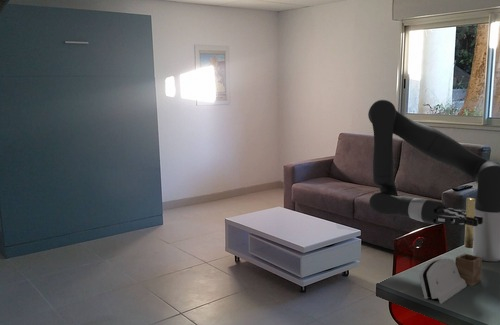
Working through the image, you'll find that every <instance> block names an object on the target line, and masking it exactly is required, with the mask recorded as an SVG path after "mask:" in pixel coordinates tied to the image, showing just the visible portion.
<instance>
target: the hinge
mask: <svg viewBox="0 0 500 325" xmlns="http://www.w3.org/2000/svg"><path fill="white" fill-rule="evenodd" d="M419 280H420V285H421V289H422V294H423V298H424V299H426V300H428V299H430V298H431V300H432V299H433V300H434V299H438V302H439V304H443V303H445V302H446V301H447V300H449V299H450V298H452V297H453V296H455V295H456V294H458V293H459V292H460V291H462V290H463V289H465V288H466V287H467V284H466V282H465V280H464V279H462V278H461V277H460V275H459V272H458V269H457V267H456V264H455V260H454V259H450V258H442V259H441V258H440V259H436V260H433V261H430V262H429V263H427V264H426V265H424V266H423V268H422V270H421V271H420V273H419Z"/></svg>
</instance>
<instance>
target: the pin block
mask: <svg viewBox="0 0 500 325" xmlns="http://www.w3.org/2000/svg"><path fill="white" fill-rule="evenodd" d="M482 261H483V260H482V258H481V257H477V256H473V254H468V253H462V254H460V255H458V256H456V257H455V260H454V262H455V264H456V267H457V269H458V272H459V275H460V277H461V278H462V279H464V280H465V282H466V285H468V286H470V287H473V286H475V285H476V284H478V283H480V282H481V281H482V266H483V265H482V263H483V262H482Z"/></svg>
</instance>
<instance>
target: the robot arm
mask: <svg viewBox="0 0 500 325" xmlns="http://www.w3.org/2000/svg"><path fill="white" fill-rule="evenodd" d="M368 119H369V122H370V123H371V125H372V130H373V158H372V178H373V179H372V180H373V184H374V185H375V186H378V187H379V190H380V192H376V193H374V194H372V195H371V197H369V200H368V201H369V202H368V204H369V206H370V208H371V209H372V211H374V212H375V213H377V214H381V215H384V214H385V215H393V216H400V217H405V218H408V219H412V220H415V221H419V222H422V223H426V224H431V225H435V226H438V225H449V226H450V225H451V226H460V225H465V224H467V225H471V226H474V238H473V248H472V255H473V256H477V257H481V258H482V261H485V262H500V164H499V163H497V162H494V161H492V160H489V159H488V158H484V157H482V156H481V155H478V154H476V153H474V152H472V151H471V150H469V149H467V148H466V147H465V146H463V145H462V144H461V143H460V142H458V141H457V140H455V139H454V138H452V137H451V136H449V135H447V134H445V133H444V132H442V131H440V130H439V129H436V128H435V127H431V126H429V125H427V124H424V123H421V122H419V121H416V120H414V119H411V118H408V117H407V116H405V115H404V114H403V113H401V112H399V111H398V110H397V109H396V106H395V104H394V103H393V102H392V101H390V100H388V99H378V100H376V101H375V102H374V103H372V104H371V106H370V107H369V109H368ZM393 135H395V136H397V137H399V138H400V139H402V140H404V141H405V142H406V143H408V144H409V145H410V146H412V147H413V148H415V149H417V150H418V151H419V152H421V153H423V154H425V155H426V156H428V157H430V158H432V159H433V160H434V161H437V162H439V163H442V164H444V165H447V166H450V167H453V168H455V169H456V170H459V171H460V172H463V173H464V174H466V175H467V176H468V177H470V178H471V179H472V180H474V181H475V182H476V183H477V192H476V193H477V194H476V198H475V218H471V217H466V209H465V208H461V207H458V208H457V209H455V208H452V207H448V208H446V206H445V204H444V202H442V201H439V200H433V199H428V198H420V197H413V196H408V195H402V196H401V195H400V196H399V195H398V191H397V187H396V183H395V178H394V177H395V176H394V175H395V173H394V172H395V171H394V170H395V168H394V152H393V150H394V149H393V148H394V147H393V140H394V138H393Z"/></svg>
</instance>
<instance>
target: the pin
mask: <svg viewBox="0 0 500 325" xmlns="http://www.w3.org/2000/svg"><path fill="white" fill-rule="evenodd" d="M475 201H476V198H473V197H466V201H465V202H466V203H465V210H466V217H471V218H475ZM473 242H474V226H471V225H467V224H465V223H464V243H463V244H464V245H463V247H464V248H466V249H473Z"/></svg>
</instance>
